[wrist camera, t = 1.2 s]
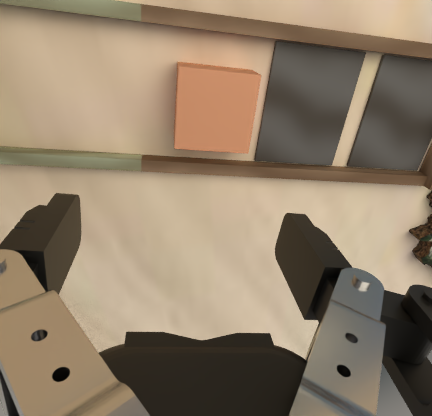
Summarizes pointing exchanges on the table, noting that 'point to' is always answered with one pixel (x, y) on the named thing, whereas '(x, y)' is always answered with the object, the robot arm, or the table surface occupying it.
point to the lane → (291, 104)
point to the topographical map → (424, 239)
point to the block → (215, 107)
